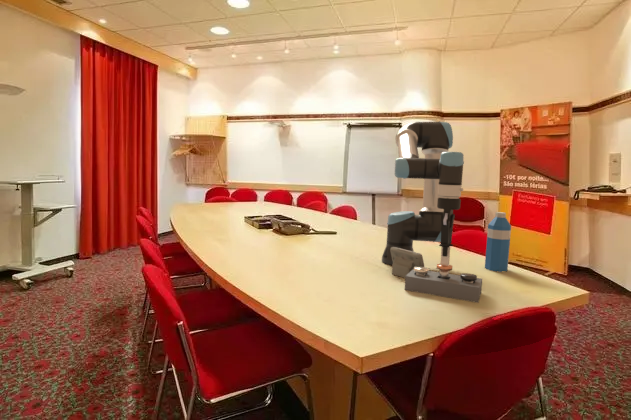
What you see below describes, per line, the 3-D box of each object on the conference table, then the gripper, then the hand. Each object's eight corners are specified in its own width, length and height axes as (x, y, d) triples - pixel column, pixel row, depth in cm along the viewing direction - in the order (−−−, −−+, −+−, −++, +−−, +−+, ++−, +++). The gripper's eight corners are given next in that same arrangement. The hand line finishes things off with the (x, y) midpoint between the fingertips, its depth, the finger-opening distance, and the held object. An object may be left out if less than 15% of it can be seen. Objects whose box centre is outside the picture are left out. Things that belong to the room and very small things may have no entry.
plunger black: (458, 290, 129) (459, 275, 129) (460, 286, 134) (461, 272, 133) (475, 293, 127) (476, 278, 126) (476, 289, 132) (477, 274, 131)
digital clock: (428, 280, 148) (430, 253, 147) (409, 282, 144) (410, 254, 143) (403, 269, 162) (404, 245, 161) (385, 271, 159) (386, 246, 158)
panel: (404, 289, 135) (405, 276, 134) (412, 281, 145) (413, 268, 145) (478, 302, 124) (479, 287, 123) (481, 292, 134) (482, 278, 134)
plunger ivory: (411, 283, 137) (412, 268, 136) (414, 279, 141) (415, 265, 141) (426, 285, 134) (426, 271, 134) (429, 281, 139) (429, 267, 138)
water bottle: (510, 272, 163) (515, 214, 160) (487, 270, 164) (491, 213, 162) (504, 267, 172) (509, 212, 169) (482, 265, 173) (486, 211, 171)
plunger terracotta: (434, 280, 133) (435, 265, 132) (437, 277, 137) (438, 262, 137) (450, 283, 130) (451, 268, 130) (452, 279, 135) (453, 264, 134)
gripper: (458, 199, 123) (453, 270, 126) (463, 197, 135) (458, 262, 137) (434, 197, 127) (430, 267, 129) (441, 195, 138) (437, 259, 141)
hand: (444, 264), depth 133 cm, fingers closed
